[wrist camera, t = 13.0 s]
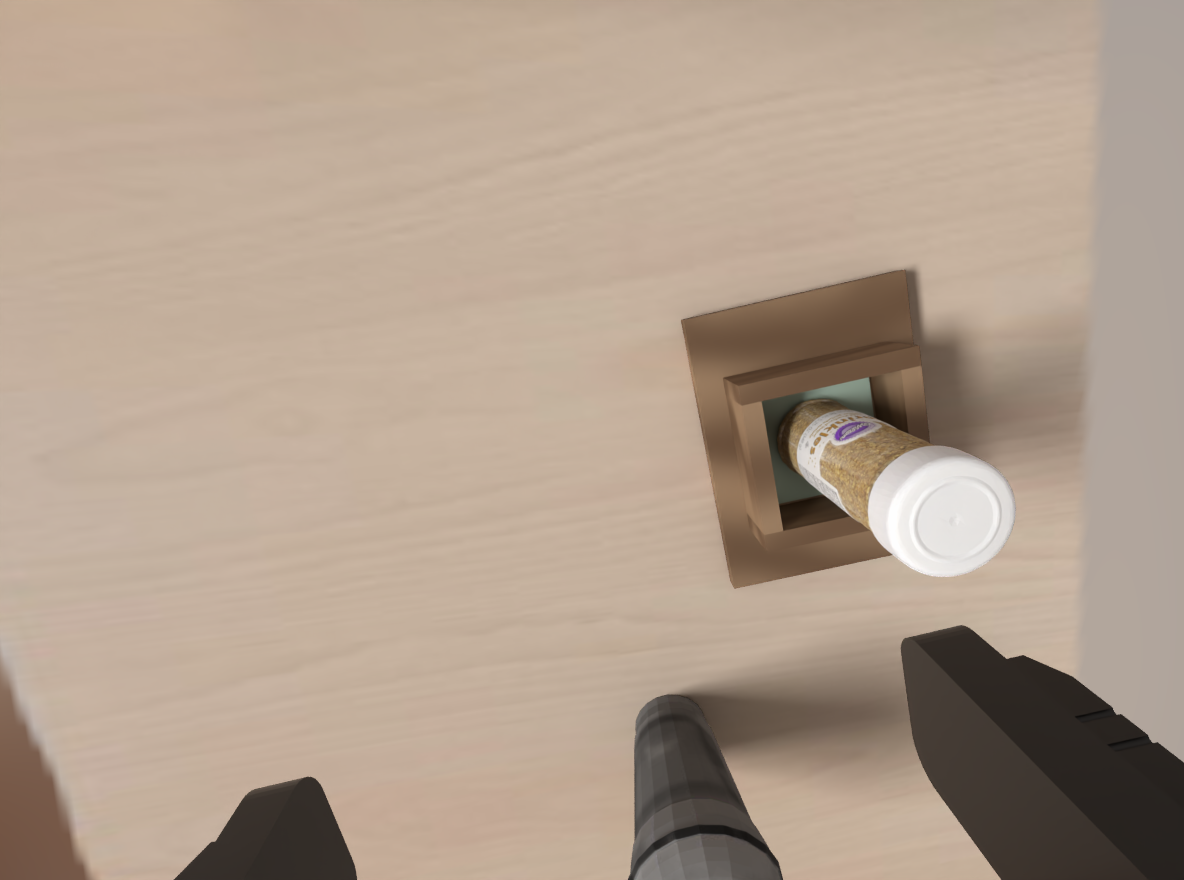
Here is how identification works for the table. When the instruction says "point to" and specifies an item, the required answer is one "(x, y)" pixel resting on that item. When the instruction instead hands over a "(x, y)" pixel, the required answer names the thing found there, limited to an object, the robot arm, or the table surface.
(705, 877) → the beverage cup
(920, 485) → the sprinkles bottle
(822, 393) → the wooden square holder
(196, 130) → the table surface
